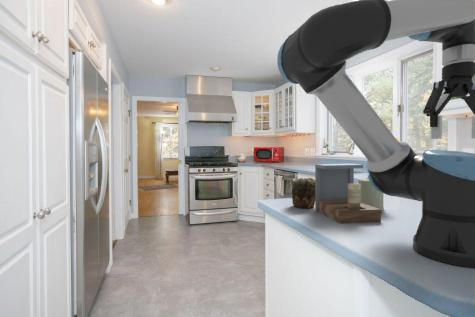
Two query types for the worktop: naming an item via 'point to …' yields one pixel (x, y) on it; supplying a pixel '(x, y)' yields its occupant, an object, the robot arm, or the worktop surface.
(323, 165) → the grey open drawer
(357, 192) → the peg
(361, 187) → the can
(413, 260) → the worktop surface
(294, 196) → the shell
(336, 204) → the socket block
